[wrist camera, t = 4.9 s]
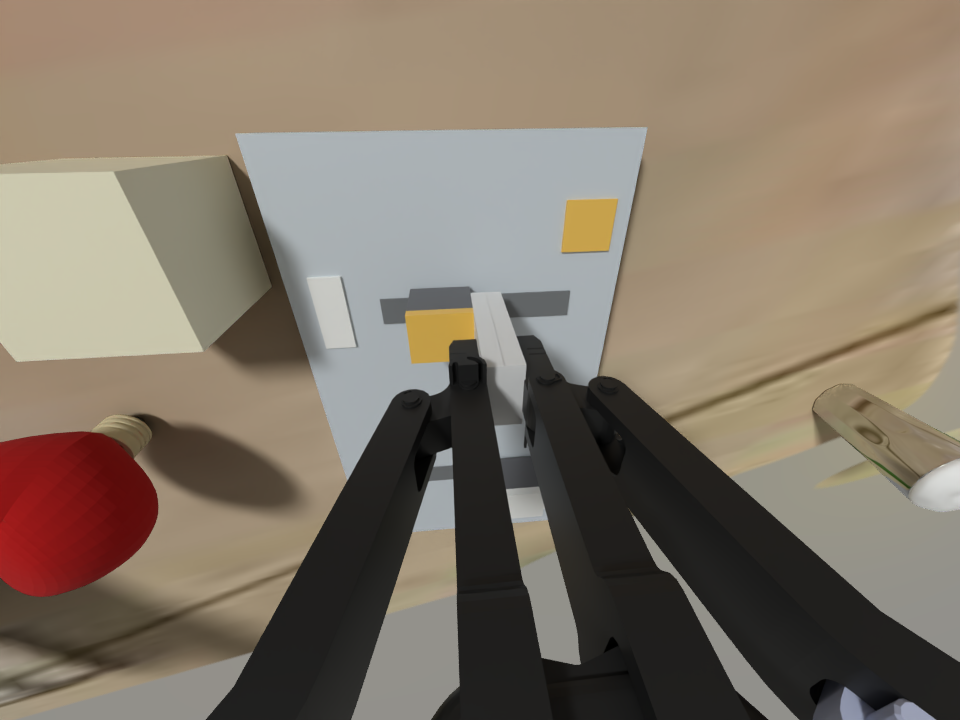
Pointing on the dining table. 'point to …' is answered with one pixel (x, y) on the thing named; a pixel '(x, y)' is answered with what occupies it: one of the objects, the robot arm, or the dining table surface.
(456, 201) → the panel
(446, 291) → the breaker
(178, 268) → the cap
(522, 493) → the breaker
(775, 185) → the dining table surface
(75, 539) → the light bulb
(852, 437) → the milkshake
